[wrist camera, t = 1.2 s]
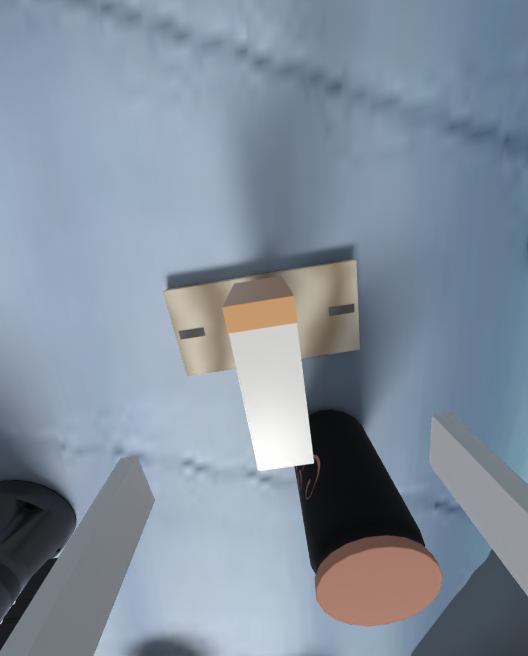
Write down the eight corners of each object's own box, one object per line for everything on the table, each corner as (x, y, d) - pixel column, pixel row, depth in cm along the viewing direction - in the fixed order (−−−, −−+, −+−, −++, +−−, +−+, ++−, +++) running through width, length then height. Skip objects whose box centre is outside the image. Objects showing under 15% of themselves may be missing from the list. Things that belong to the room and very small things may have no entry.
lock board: (190, 370, 35) (178, 393, 30) (167, 288, 31) (149, 299, 26) (355, 344, 34) (373, 364, 29) (351, 258, 31) (370, 263, 26)
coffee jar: (293, 404, 37) (323, 546, 20) (368, 406, 38) (459, 547, 21) (287, 464, 41) (309, 627, 24) (355, 465, 41) (425, 626, 24)
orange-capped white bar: (257, 387, 29) (257, 471, 19) (236, 278, 25) (221, 307, 15) (293, 381, 29) (314, 463, 19) (278, 271, 25) (294, 295, 15)
